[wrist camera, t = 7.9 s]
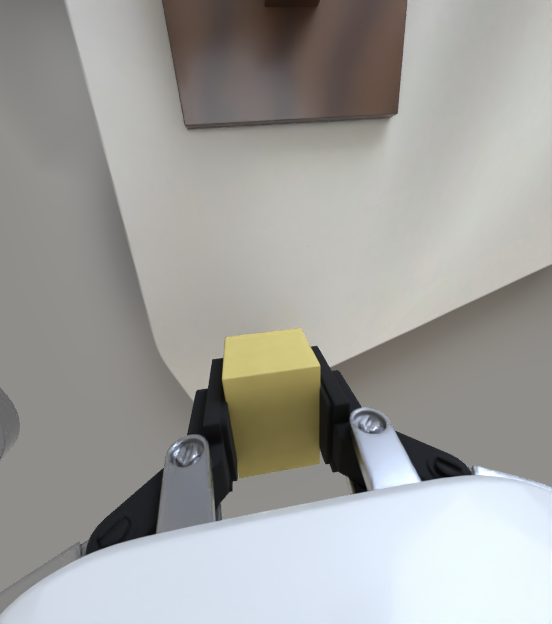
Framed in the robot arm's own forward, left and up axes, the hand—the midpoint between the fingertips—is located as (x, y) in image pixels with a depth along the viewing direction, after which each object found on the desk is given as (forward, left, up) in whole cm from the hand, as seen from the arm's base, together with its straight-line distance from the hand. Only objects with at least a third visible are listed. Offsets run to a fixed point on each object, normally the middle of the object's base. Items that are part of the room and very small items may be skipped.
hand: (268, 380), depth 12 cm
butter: (0, 0, 0) cm, 0 cm away
